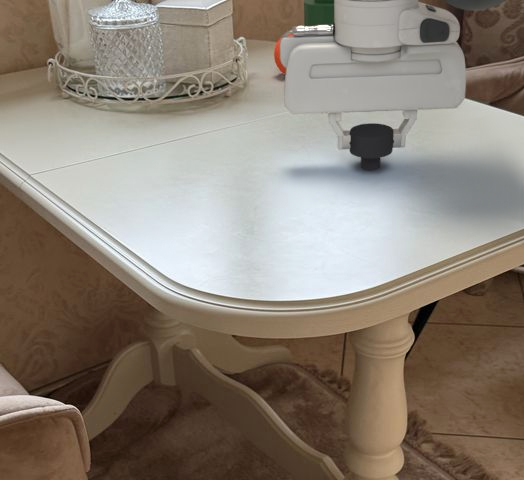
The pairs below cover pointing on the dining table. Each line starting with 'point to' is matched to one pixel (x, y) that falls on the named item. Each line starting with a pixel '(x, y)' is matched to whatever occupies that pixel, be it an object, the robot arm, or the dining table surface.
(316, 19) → the bottle
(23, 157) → the dining table surface
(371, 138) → the bung
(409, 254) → the dining table surface
